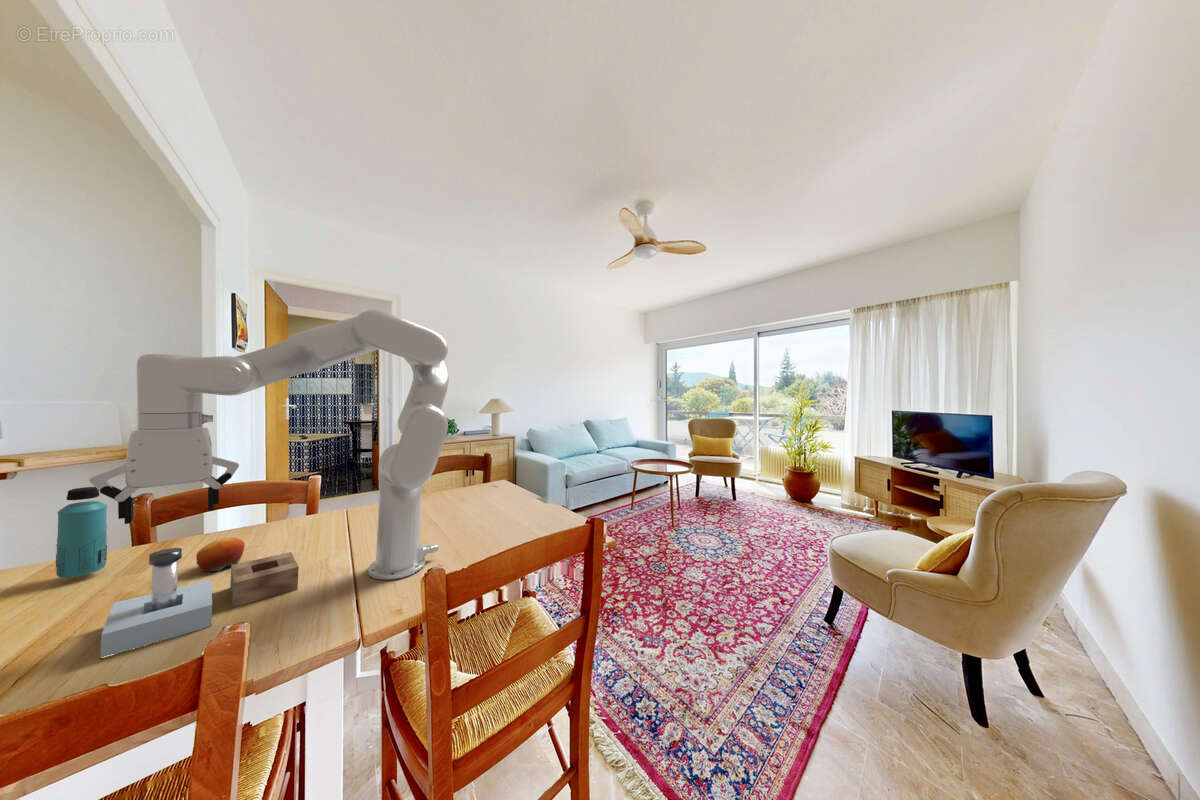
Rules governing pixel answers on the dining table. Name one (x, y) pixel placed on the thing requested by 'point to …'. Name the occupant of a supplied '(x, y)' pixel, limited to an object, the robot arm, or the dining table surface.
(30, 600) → the dining table surface
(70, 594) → the dining table surface
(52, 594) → the dining table surface
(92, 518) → the beverage bottle
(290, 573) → the block
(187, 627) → the dock
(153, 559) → the pin
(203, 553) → the fruit
